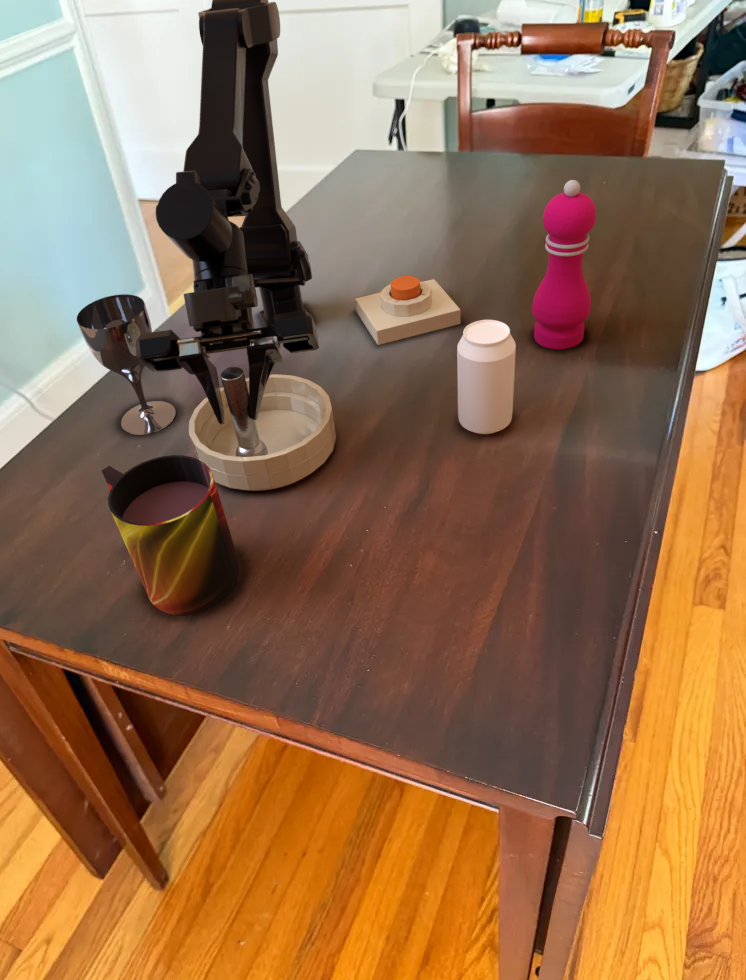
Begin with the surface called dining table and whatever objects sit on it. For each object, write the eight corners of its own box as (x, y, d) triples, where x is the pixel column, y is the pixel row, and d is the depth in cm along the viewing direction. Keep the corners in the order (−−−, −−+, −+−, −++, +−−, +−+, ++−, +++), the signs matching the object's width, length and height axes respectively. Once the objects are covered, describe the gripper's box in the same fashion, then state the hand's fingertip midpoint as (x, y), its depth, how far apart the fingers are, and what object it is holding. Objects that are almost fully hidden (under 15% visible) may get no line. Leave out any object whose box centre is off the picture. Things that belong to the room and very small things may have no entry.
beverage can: (507, 441, 88) (511, 348, 80) (453, 436, 90) (451, 345, 82) (515, 409, 92) (520, 317, 84) (463, 405, 94) (462, 314, 86)
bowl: (189, 429, 97) (179, 395, 94) (317, 395, 99) (311, 361, 96) (210, 511, 86) (199, 476, 82) (354, 471, 88) (349, 436, 84)
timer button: (387, 291, 109) (386, 279, 108) (414, 284, 109) (413, 273, 108) (396, 304, 106) (396, 292, 105) (424, 297, 107) (424, 285, 105)
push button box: (356, 312, 113) (353, 286, 110) (434, 292, 115) (433, 267, 112) (378, 345, 106) (375, 318, 103) (460, 324, 108) (460, 297, 105)
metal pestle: (244, 455, 90) (220, 363, 82) (274, 456, 90) (253, 363, 81) (235, 475, 88) (209, 382, 79) (265, 476, 87) (243, 383, 78)
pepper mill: (587, 352, 99) (607, 192, 85) (529, 351, 101) (538, 194, 87) (586, 322, 104) (605, 166, 90) (531, 322, 106) (540, 169, 92)
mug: (134, 535, 84) (97, 448, 76) (253, 549, 81) (229, 458, 72) (93, 603, 78) (47, 515, 70) (220, 621, 74) (188, 531, 66)
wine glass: (189, 402, 102) (157, 296, 91) (160, 440, 96) (122, 331, 86) (137, 396, 104) (99, 292, 93) (106, 433, 99) (62, 326, 88)
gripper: (108, 261, 76) (125, 419, 76) (296, 232, 75) (315, 393, 74) (146, 300, 87) (161, 437, 87) (310, 275, 86) (327, 415, 85)
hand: (237, 421), depth 83 cm, fingers open, 3 cm apart
